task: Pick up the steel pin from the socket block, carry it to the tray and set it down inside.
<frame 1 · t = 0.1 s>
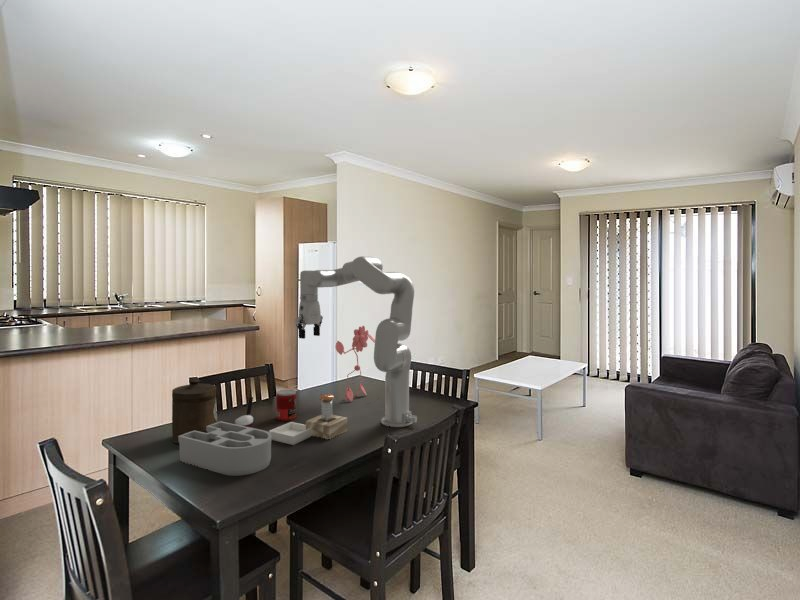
hand: (309, 336, 204), 31 cm above the table, tool pointing down, fingers open, 9 cm apart
steel pin: (326, 414, 171), in the socket block
pink stick figure: (361, 400, 216), on the table
canned food: (286, 418, 188), on the table
white oval with stem: (244, 432, 172), on the table
socket block: (326, 432, 172), on the table
wooden container: (195, 438, 166), on the table
tray: (292, 436, 167), on the table
grey compartment organizer: (231, 462, 146), on the table
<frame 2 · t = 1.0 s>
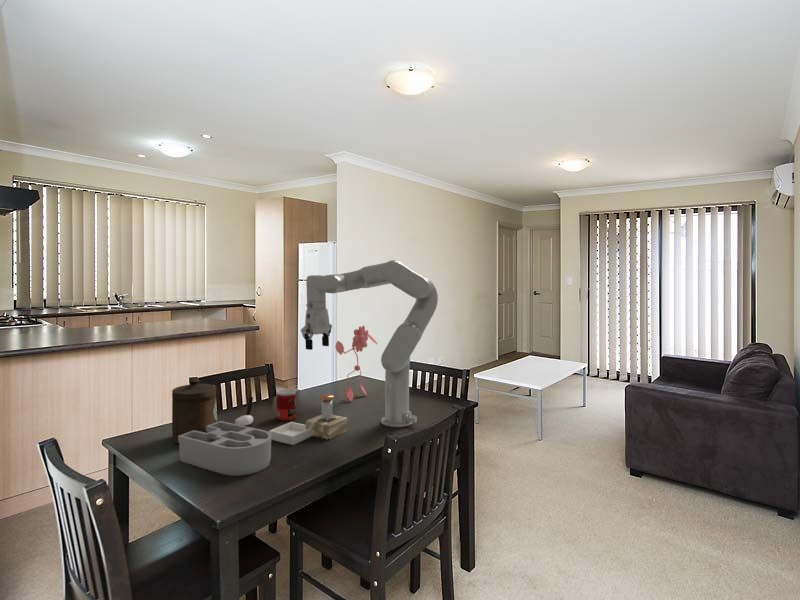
hand: (317, 347, 187), 29 cm above the table, tool pointing down, fingers open, 9 cm apart
nothing on the table moved.
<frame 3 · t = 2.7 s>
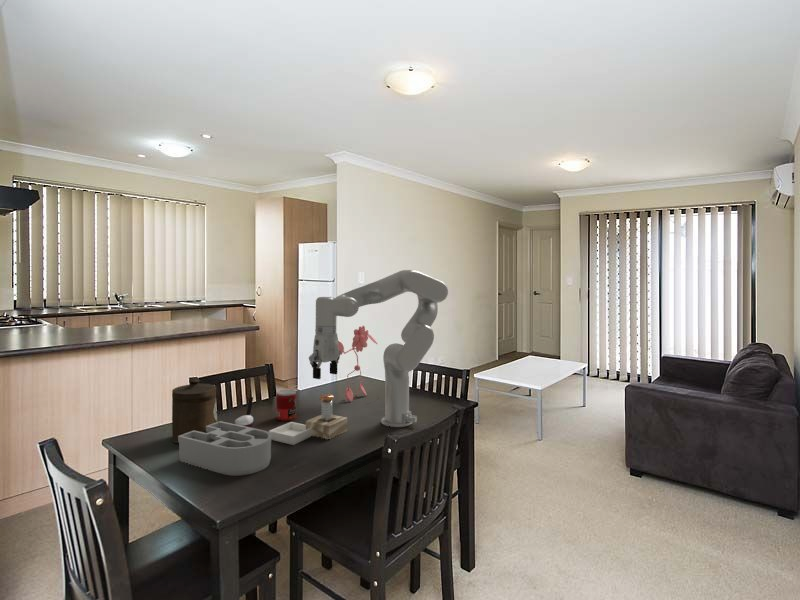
hand: (325, 376, 170), 21 cm above the table, tool pointing down, fingers open, 9 cm apart
nothing on the table moved.
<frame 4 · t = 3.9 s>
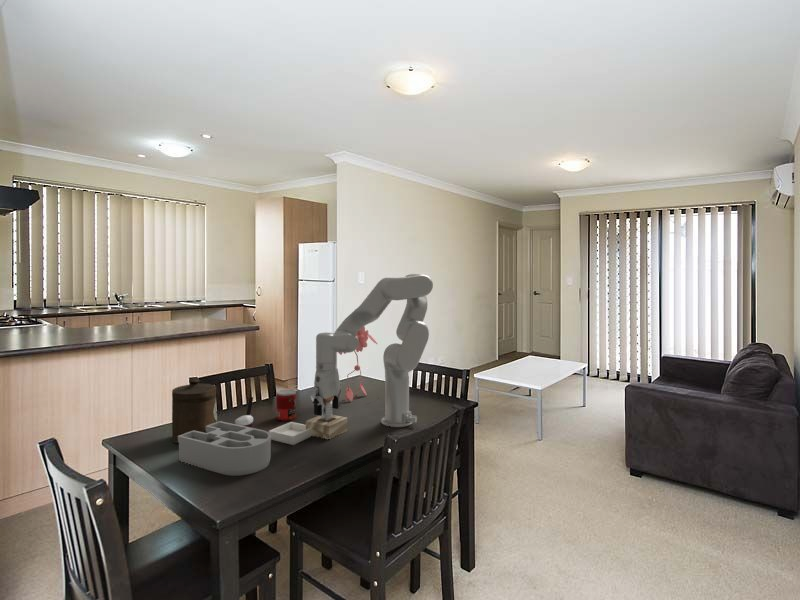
hand: (326, 411, 171), 8 cm above the table, tool pointing down, fingers open, 9 cm apart
nothing on the table moved.
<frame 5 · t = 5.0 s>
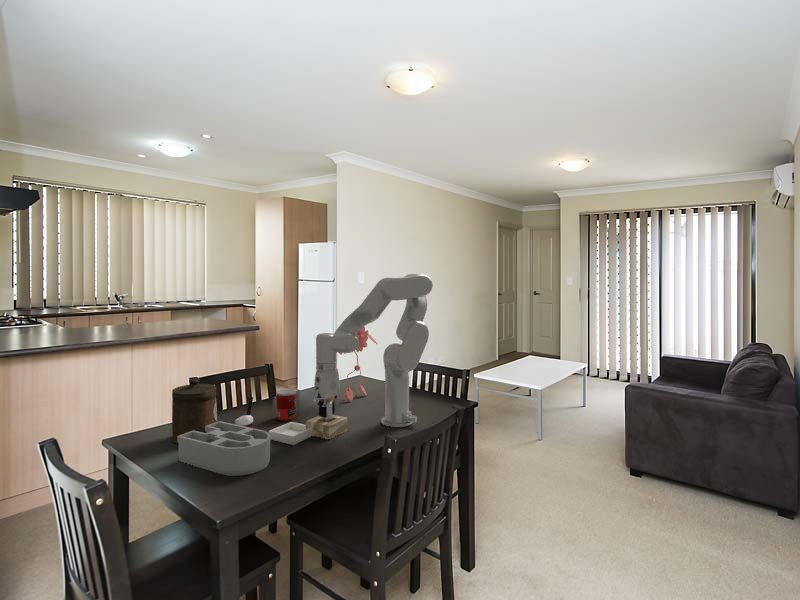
hand: (326, 414, 171), 7 cm above the table, tool pointing down, fingers closed on steel pin, 4 cm apart
steel pin: (326, 414, 171), in the socket block, touching gripper
everything else where it was.
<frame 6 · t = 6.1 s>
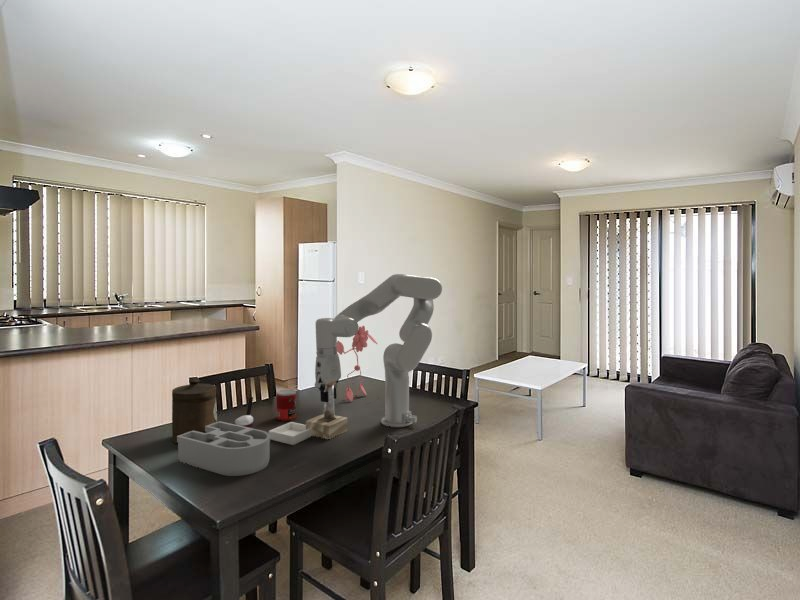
hand: (328, 399, 171), 12 cm above the table, tool pointing down, fingers closed on steel pin, 4 cm apart
steel pin: (328, 399, 171), point 13 cm above the table, touching gripper
everything else where it was.
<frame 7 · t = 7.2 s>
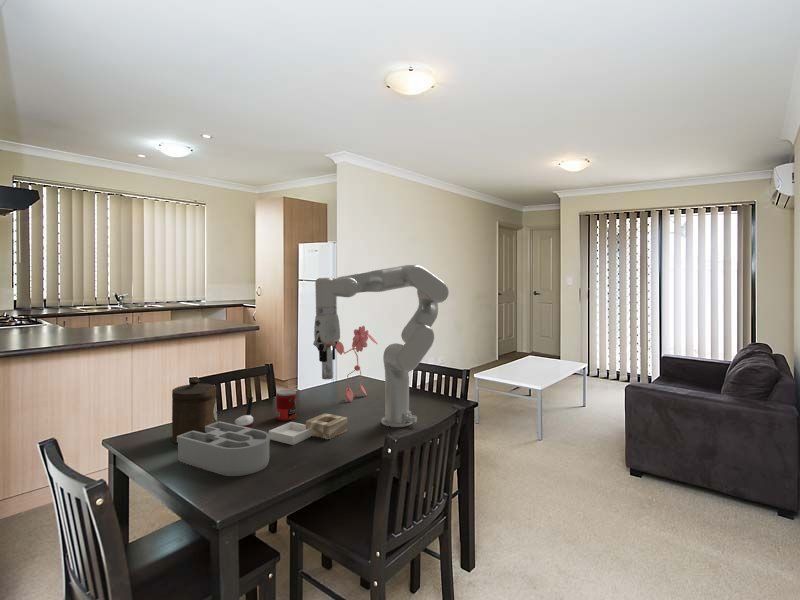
hand: (327, 359, 170), 27 cm above the table, tool pointing down, fingers closed on steel pin, 4 cm apart
steel pin: (327, 359, 170), point 28 cm above the table, touching gripper
everything else where it was.
when the fingers open (9 cm above the table, at t = 12.3 s): steel pin drops 1 cm, resting on tray.
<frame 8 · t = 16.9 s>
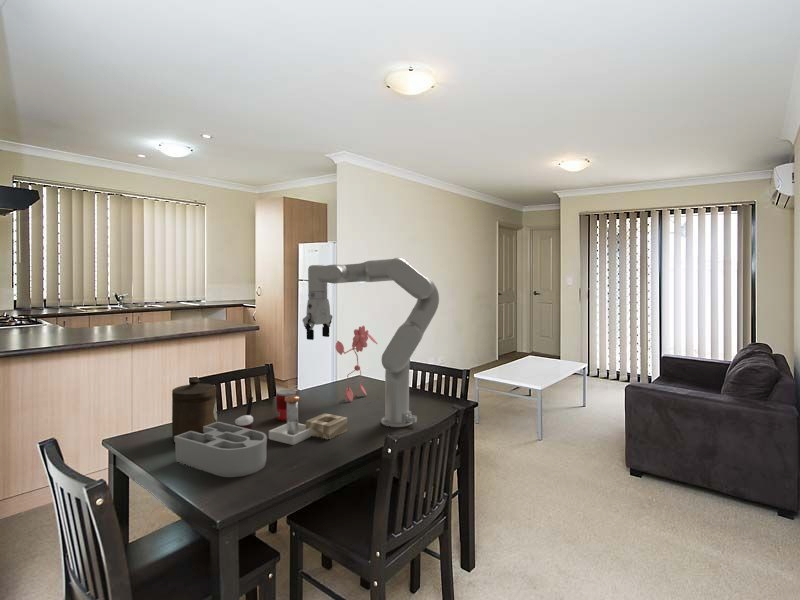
hand: (318, 338, 186), 33 cm above the table, tool pointing down, fingers open, 9 cm apart
steel pin: (292, 415, 167), in the tray, point 8 cm above the table
at the end: steel pin inside the target area on the tray (0.2 cm from its centre), point 7.8 cm above the tray's base; the gripper is holding nothing; steel pin touching tray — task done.
